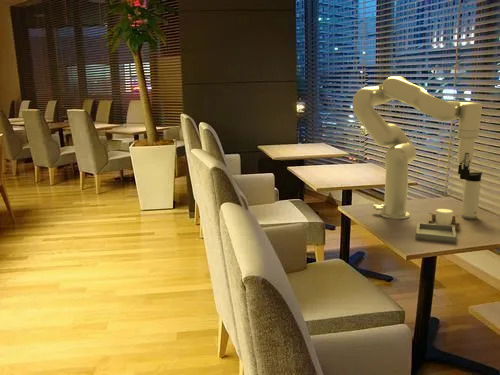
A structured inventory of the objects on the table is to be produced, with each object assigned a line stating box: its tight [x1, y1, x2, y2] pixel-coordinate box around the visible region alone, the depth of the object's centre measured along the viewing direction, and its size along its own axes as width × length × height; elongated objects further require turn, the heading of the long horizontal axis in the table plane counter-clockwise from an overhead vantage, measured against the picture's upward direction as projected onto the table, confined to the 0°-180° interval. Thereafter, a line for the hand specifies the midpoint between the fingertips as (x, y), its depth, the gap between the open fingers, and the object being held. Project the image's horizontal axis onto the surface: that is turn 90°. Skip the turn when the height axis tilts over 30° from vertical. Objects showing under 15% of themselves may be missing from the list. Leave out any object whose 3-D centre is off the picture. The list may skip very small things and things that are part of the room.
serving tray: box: [415, 222, 457, 244], centre depth 185 cm, size 14×14×2 cm
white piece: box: [435, 207, 455, 226], centre depth 195 cm, size 7×7×7 cm
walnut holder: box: [427, 212, 460, 231], centre depth 198 cm, size 11×12×3 cm
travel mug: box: [461, 171, 483, 220], centre depth 206 cm, size 6×7×20 cm
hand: (463, 176), depth 192 cm, fingers open, 9 cm apart
